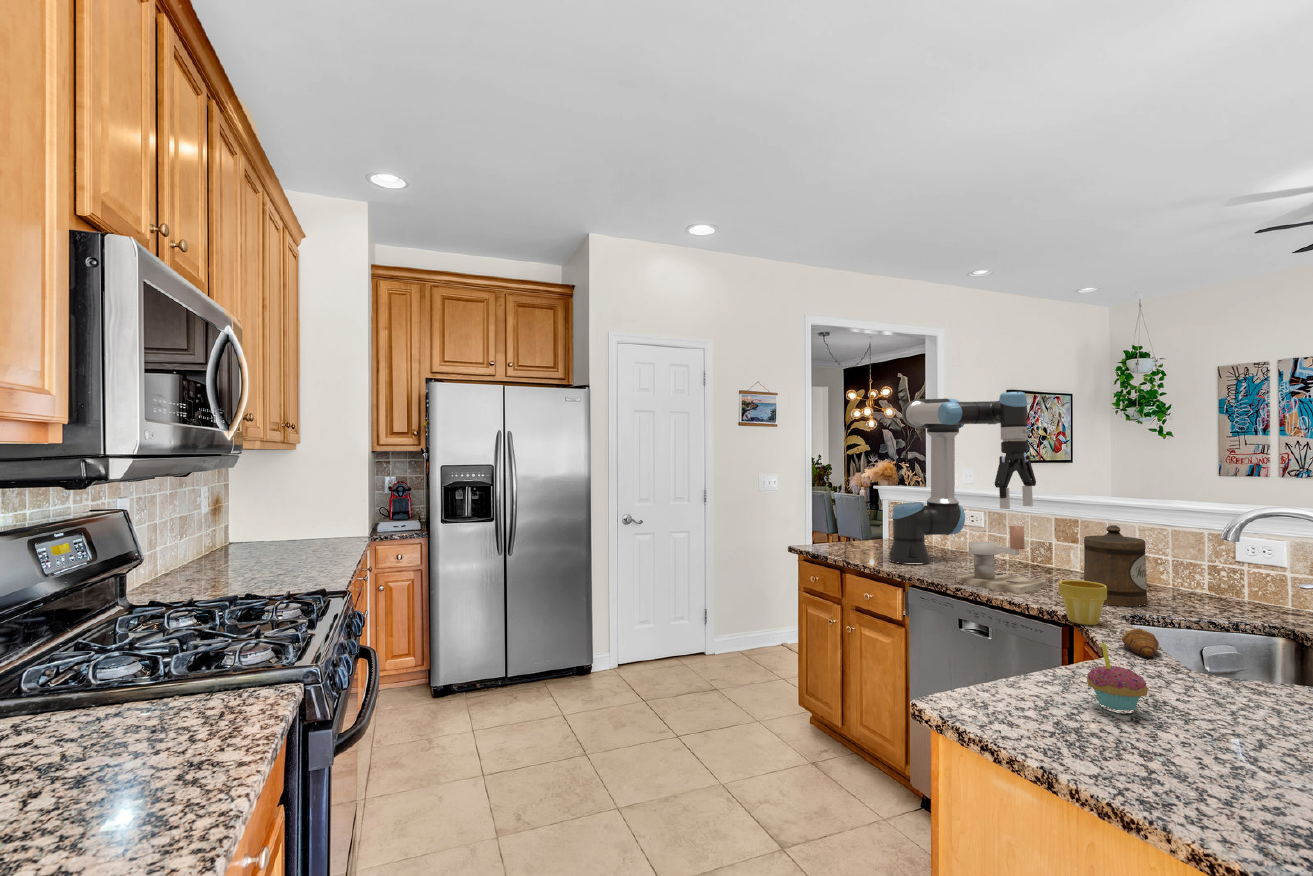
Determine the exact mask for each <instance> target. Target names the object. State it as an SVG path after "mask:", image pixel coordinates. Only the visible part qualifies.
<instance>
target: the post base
mask: <svg viewBox="0 0 1313 876" xmlns="http://www.w3.org/2000/svg"><path fill="white" fill-rule="evenodd" d="M973 567H974V568H973V573H968V574H962V575H957V576H956V578H955V579H956V583H957V582H962V583H966V584H965V585H967V584H970V585H969V586H973V585H974V586H973V587H978V586H982V587H981V588H984V587H986V588H985V589H990V590H997V591H1001V592H1007V591H1008V592H1007V593H1012V592H1013V593H1014V594H1018V593H1019V595H1021V594H1025V592H1026V593H1029V592H1028V591H1030V592H1034V591H1038V590H1042V589H1046V588H1048V582H1047V580H1044V579H1038V578H1030V577H1024V576H1017V575H1011V574H1006V573H1005V574H1004V573H1002V572H1001V573H997V572H995V569H996V568H995V555H980V554H973ZM1045 587H1046V588H1045ZM1041 588H1042V589H1041Z"/></svg>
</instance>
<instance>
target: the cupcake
mask: <svg viewBox="0 0 1313 876" xmlns="http://www.w3.org/2000/svg"><path fill="white" fill-rule="evenodd" d="M1100 640H1101V644H1100V645H1101V649H1102V655H1103V659H1104V664H1105V665H1103V666H1102V665H1101V666H1097V667H1095V668H1091V670H1090V671H1088V673H1087V675H1086V682H1087V685H1088V686H1089V687H1090V688H1092V689H1093V691H1094V693H1095V695H1096V697H1097V700H1098V703H1099V705H1100V704H1101V705H1104V706H1106V707H1109V708H1112V709H1115V710H1135V711H1136V708H1137V706H1138V704H1139V703H1138V702H1139V700H1140V699H1141V697H1145V696H1148V691H1149V690H1148V689H1149V688H1148V686H1147V684H1148V683H1147V682H1146V681H1145V679H1144V678H1143V677H1141V676H1140V675H1139V674H1137V673H1136V672H1135V671H1133V670H1131V669H1130V668H1125V667H1121V666H1114V665H1111V663H1110V659H1109V653H1108V648H1107V643H1105V642H1104V640H1103V638H1101V639H1100Z"/></svg>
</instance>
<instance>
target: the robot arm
mask: <svg viewBox="0 0 1313 876" xmlns="http://www.w3.org/2000/svg"><path fill="white" fill-rule="evenodd" d="M901 417H902V420H903V422H904V423H905V424H907V425H908V426H909V427H912V428H915V429H926V434H927V435H929V436H930V497H929V498H928V499H926V505H925V504H924V503H923V502H921V501H915V502H912V501H911V502H904V503H899V504H895V505H894V507H893V508H892V516H891V518H892V536H893V537H892V539H893V540H892V545H891V548H890V552H889V555H888V560H889V559H890V560H891V561H894V562H899V563H929V562H930V563H931V557H930V554H929V551H928V549H927V545H926V541H925V540H926V539H925V536H939V535H940V536H941V535H944V536H949V535H950V536H951V535H956V534H959V533H960V532H961V531H962V530H963V528H964V526H965V522H966V512H965V509H964V507H963V506H962V505H960V501H959V500H958V499H957V498H956V497H955V485H956V484H955V480H956V479H955V473H956V472H955V471H956V470H955V466H956V465H955V460H956V459H955V457H956V456H955V455H956V453H955V450H956V448H955V444H956V443H955V441H956V440H955V439H956V438H955V437H956V436H958V434H959V433H960V429H961V428H963V427H964V426H965V425H997V424H1000V440H1002V441H1001V442H1000V449H1001V450H1000V452H1001V454H1002V453H1003V454H1005V455H1000V456H999V459H998V460H999V463H998V466H997V467H998V468H997V471H996V477H995V480H994V486H995V488H998V489H999V490H998V491H999V492H998V493H999V509H1000V510H1001V509H1004V510H1010V509H1011V500H1010V497H1011V496H1010V487H1009V486H1008V485H1009V484H1010V483H1011V479H1012V477H1013V474H1014V472H1015V471H1016V473H1017V474H1018V476H1019V478H1020V480H1021V482H1022V484H1023V485H1022V486H1021V487H1022V490H1021V491H1022V507H1033V506H1034V501H1033V500H1034V499H1033V487H1036V485H1037V484H1036V483H1037V481H1036V477H1035V473H1034V470H1033V466H1032V463H1031V456H1030V455H1026V453H1029V442H1028V441H1027V440H1028V439H1029V437H1028V435H1029V434H1028V433H1029V429H1028V403H1027V394H1026V393H1025V392H1023V391H1011V392H1007V391H1006V392H1001V394H1000V395H999V399H998V400H995V401H994V400H991V401H988V400H987V401H985V400H984V401H959V400H958V399H956V398H946V397H945V398H920V399H919V398H918V399H913V400H910V401H908V402H906V404H905V405H904V406H903V408H902V410H901ZM930 563H929V564H930Z"/></svg>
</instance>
